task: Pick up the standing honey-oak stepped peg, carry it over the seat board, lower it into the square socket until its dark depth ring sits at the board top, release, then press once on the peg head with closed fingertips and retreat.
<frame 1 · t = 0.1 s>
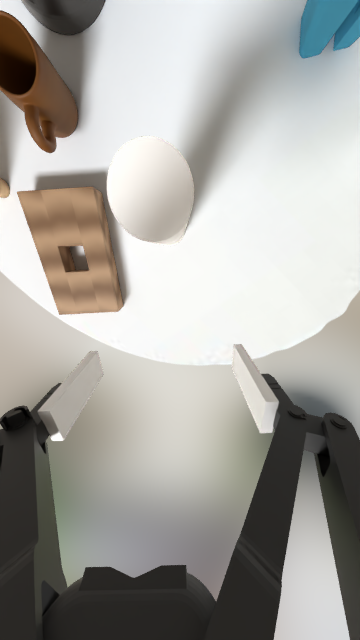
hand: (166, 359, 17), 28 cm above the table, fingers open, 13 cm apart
mug: (62, 129, 31), on the table
seat board: (83, 258, 39), on the table
block: (327, 30, 27), on the table
oak peg: (0, 187, 34), on the table
cylindrical container: (168, 228, 37), on the table
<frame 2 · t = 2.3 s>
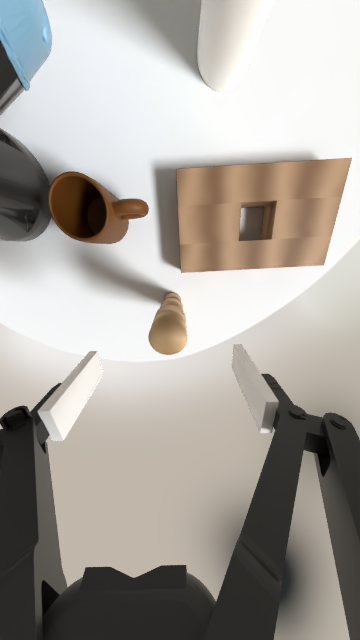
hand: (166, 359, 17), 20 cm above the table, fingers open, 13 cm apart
mug: (120, 219, 30), on the table
seat board: (247, 224, 30), on the table
oak peg: (172, 300, 35), on the table
cylindrical container: (224, 54, 23), on the table
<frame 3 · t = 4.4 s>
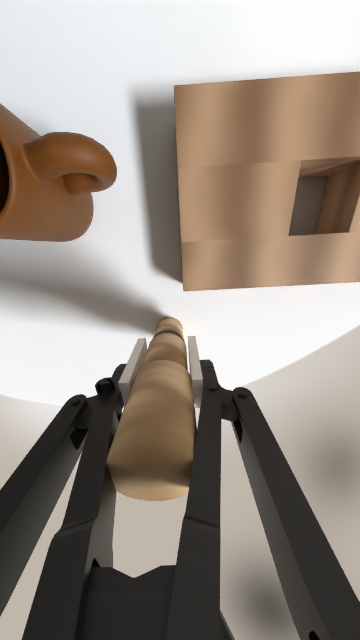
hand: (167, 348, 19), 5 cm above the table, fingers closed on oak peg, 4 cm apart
mug: (80, 200, 18), on the table
seat board: (295, 209, 18), on the table
oak peg: (169, 329, 23), on the table, touching gripper
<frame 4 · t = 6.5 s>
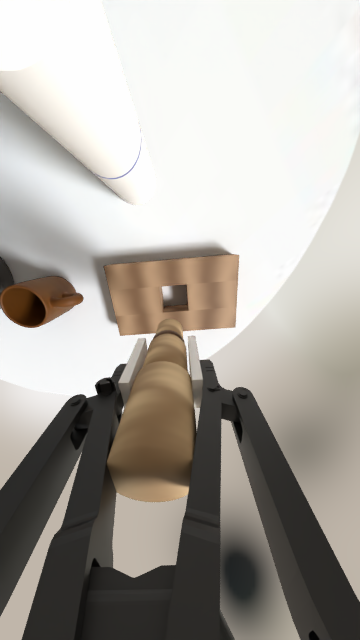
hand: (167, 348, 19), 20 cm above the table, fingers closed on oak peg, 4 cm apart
mug: (71, 292, 37), on the table
seat board: (174, 293, 37), on the table
oak peg: (169, 330, 23), point 15 cm above the table, touching gripper
cylindrical container: (135, 180, 29), on the table
when the fingers open (7 cm above the table, at t = 8.7 s): oak peg drops 2 cm, resting in seat board.
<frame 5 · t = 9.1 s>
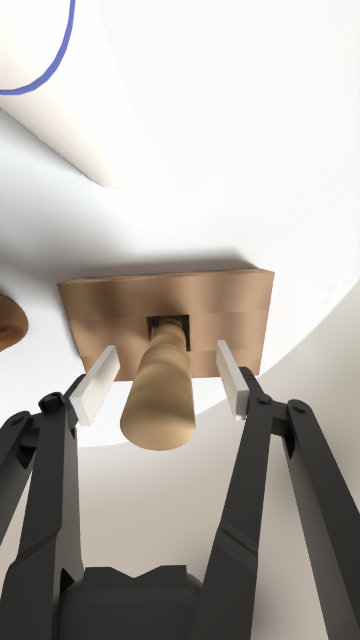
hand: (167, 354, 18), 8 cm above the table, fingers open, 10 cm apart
mug: (19, 316, 25), on the table
seat board: (170, 322, 25), on the table
oak peg: (170, 322, 25), resting in seat board
cylindrical container: (108, 147, 18), on the table
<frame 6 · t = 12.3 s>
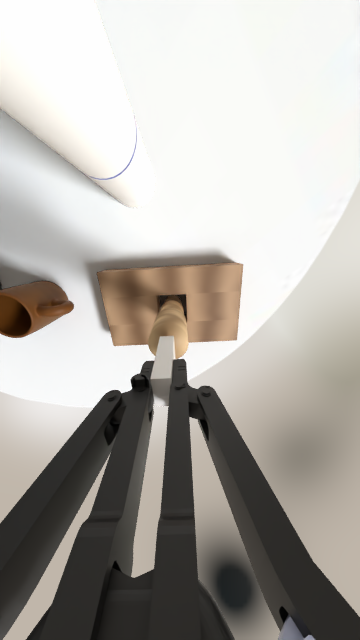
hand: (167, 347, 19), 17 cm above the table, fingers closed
mug: (62, 298, 34), on the table
seat board: (173, 302, 34), on the table
oak peg: (173, 302, 34), resting in seat board
cylindrical container: (132, 181, 27), on the table
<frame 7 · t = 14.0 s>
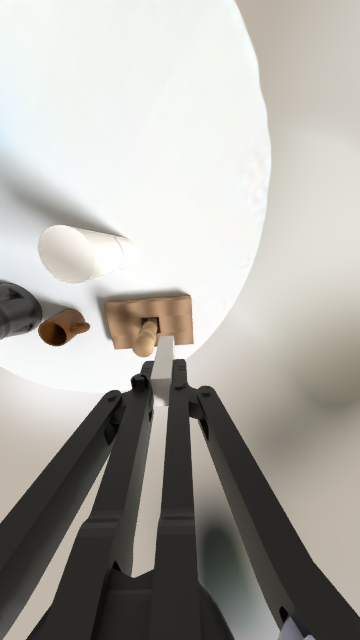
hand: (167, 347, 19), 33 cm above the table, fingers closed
mug: (80, 319, 53), on the table
seat board: (152, 320, 53), on the table
oak peg: (152, 320, 53), resting in seat board
cylindrical container: (123, 252, 46), on the table
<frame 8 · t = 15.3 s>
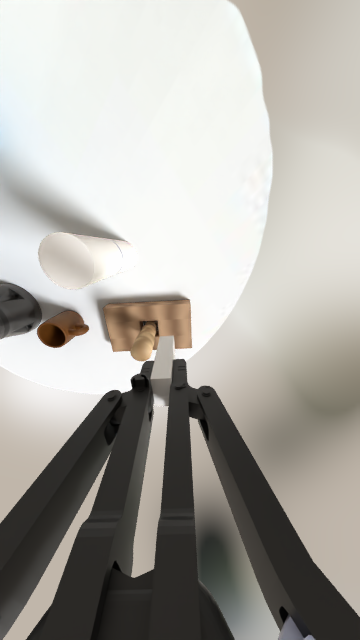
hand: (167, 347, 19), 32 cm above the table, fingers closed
mug: (80, 320, 53), on the table
seat board: (151, 323, 53), on the table
oak peg: (151, 323, 53), resting in seat board
cylindrical container: (124, 255, 46), on the table
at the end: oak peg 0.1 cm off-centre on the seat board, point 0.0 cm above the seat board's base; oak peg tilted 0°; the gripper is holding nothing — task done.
